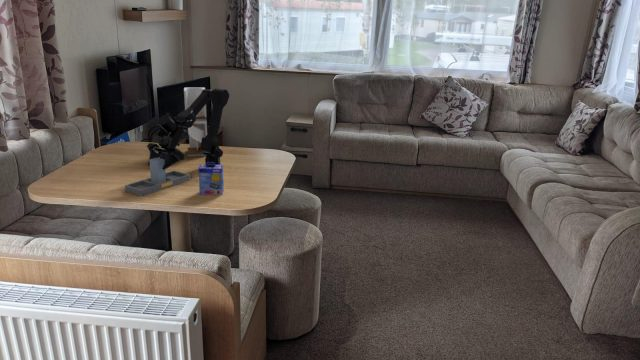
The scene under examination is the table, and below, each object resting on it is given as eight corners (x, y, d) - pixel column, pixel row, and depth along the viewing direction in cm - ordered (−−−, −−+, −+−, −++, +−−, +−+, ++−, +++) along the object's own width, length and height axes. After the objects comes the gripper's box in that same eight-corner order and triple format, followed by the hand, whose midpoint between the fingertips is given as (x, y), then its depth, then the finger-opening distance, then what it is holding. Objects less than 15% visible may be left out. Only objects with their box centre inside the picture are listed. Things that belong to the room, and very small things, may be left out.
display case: (187, 150, 273) (184, 87, 262) (207, 150, 276) (204, 87, 264) (187, 156, 263) (184, 90, 252) (208, 155, 265) (205, 90, 254)
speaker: (176, 164, 249) (173, 144, 246) (167, 167, 245) (163, 146, 242) (168, 162, 254) (164, 142, 250) (158, 165, 249) (154, 145, 246)
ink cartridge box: (199, 195, 209) (197, 162, 204) (201, 190, 214) (199, 159, 210) (222, 195, 210) (221, 163, 205) (224, 191, 215) (223, 159, 211)
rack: (174, 175, 233) (174, 170, 232) (190, 179, 227) (190, 174, 227) (125, 190, 211) (124, 185, 210) (141, 196, 206) (141, 190, 205)
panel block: (158, 180, 222) (156, 157, 218) (166, 183, 219) (164, 159, 216) (151, 183, 219) (149, 159, 215) (159, 185, 216) (157, 161, 213)
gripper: (148, 124, 219) (129, 154, 214) (177, 131, 210) (159, 161, 205) (163, 138, 228) (146, 167, 223) (192, 145, 219) (174, 175, 214)
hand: (155, 167), depth 216 cm, fingers open, 9 cm apart
